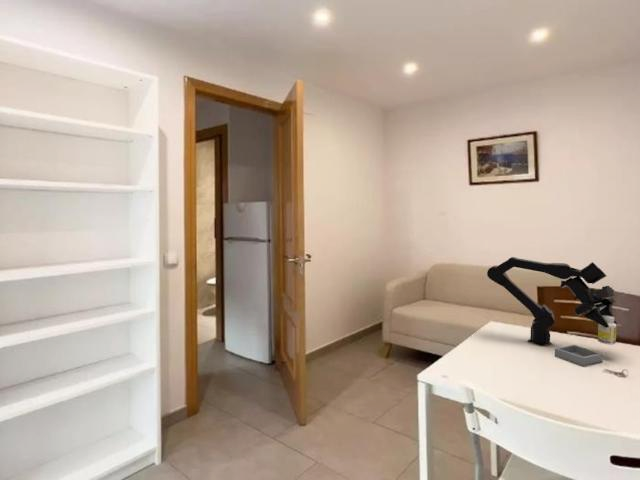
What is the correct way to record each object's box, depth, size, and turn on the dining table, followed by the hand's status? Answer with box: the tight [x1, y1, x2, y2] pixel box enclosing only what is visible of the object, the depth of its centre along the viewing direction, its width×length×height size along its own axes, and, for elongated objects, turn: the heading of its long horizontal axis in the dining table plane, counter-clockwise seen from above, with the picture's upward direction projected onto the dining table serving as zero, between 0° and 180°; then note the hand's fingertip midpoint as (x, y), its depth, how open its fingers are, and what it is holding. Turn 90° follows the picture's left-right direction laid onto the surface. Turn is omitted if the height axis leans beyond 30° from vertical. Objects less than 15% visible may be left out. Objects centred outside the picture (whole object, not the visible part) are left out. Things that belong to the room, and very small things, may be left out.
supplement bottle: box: [597, 315, 617, 346], centre depth 142 cm, size 5×5×10 cm
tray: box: [554, 344, 604, 367], centre depth 142 cm, size 11×11×3 cm
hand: (611, 326), depth 141 cm, fingers closed on supplement bottle, 5 cm apart
